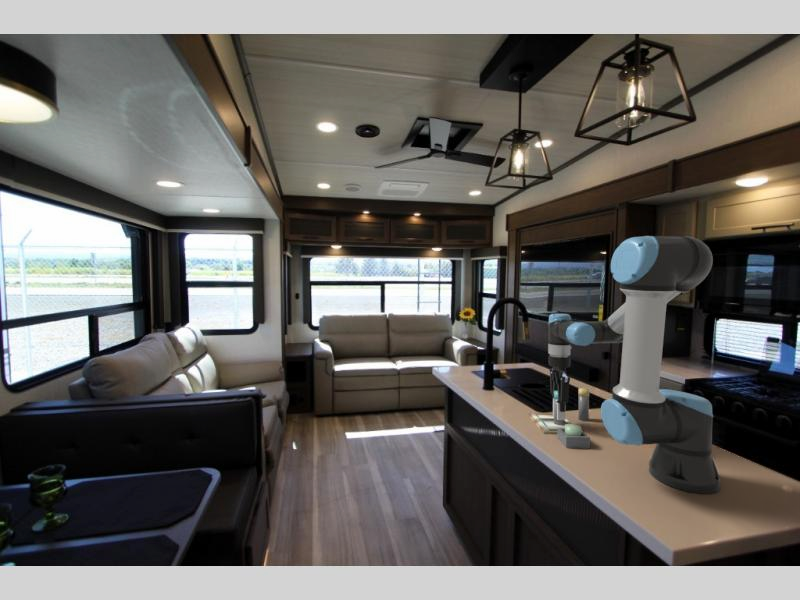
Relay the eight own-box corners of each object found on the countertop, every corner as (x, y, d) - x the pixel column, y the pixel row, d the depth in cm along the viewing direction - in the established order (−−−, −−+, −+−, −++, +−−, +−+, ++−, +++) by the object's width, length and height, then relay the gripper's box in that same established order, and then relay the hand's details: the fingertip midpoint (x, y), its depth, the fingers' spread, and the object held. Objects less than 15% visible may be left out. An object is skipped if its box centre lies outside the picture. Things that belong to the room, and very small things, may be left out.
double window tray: (581, 433, 126) (581, 430, 126) (543, 433, 127) (543, 429, 127) (561, 415, 144) (561, 412, 144) (528, 415, 145) (528, 412, 145)
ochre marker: (590, 421, 138) (590, 390, 138) (580, 421, 138) (581, 390, 138) (586, 417, 142) (586, 387, 141) (576, 417, 142) (576, 387, 142)
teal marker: (566, 425, 132) (566, 393, 131) (555, 425, 132) (556, 393, 131) (562, 421, 135) (562, 390, 135) (552, 421, 136) (552, 390, 135)
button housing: (589, 448, 115) (590, 437, 115) (566, 447, 116) (566, 437, 116) (579, 438, 123) (579, 428, 123) (557, 438, 123) (557, 428, 123)
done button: (584, 441, 117) (584, 429, 116) (568, 441, 117) (568, 429, 117) (577, 434, 122) (577, 423, 121) (562, 434, 122) (562, 423, 122)
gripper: (579, 359, 124) (579, 426, 125) (560, 351, 141) (560, 410, 142) (557, 359, 125) (557, 426, 126) (541, 351, 141) (541, 410, 142)
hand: (559, 417), depth 134 cm, fingers closed on teal marker, 3 cm apart
